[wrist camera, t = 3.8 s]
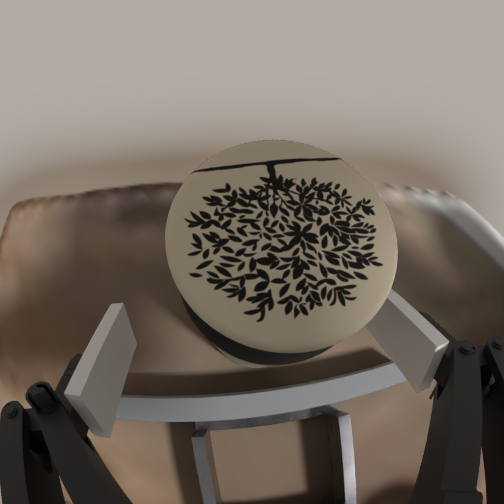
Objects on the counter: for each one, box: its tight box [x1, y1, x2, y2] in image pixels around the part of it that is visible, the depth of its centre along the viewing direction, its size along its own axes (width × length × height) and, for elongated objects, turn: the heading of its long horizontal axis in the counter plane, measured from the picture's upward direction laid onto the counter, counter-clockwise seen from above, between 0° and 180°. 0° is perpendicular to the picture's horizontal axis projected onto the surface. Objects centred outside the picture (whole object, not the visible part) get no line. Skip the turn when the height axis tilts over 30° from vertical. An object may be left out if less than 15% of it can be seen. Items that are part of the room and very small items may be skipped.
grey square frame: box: [191, 402, 356, 504], centre depth 17 cm, size 12×12×4 cm
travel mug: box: [165, 140, 398, 368], centre depth 16 cm, size 8×8×18 cm
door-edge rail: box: [115, 361, 407, 422], centre depth 20 cm, size 28×2×3 cm, turn 97°
